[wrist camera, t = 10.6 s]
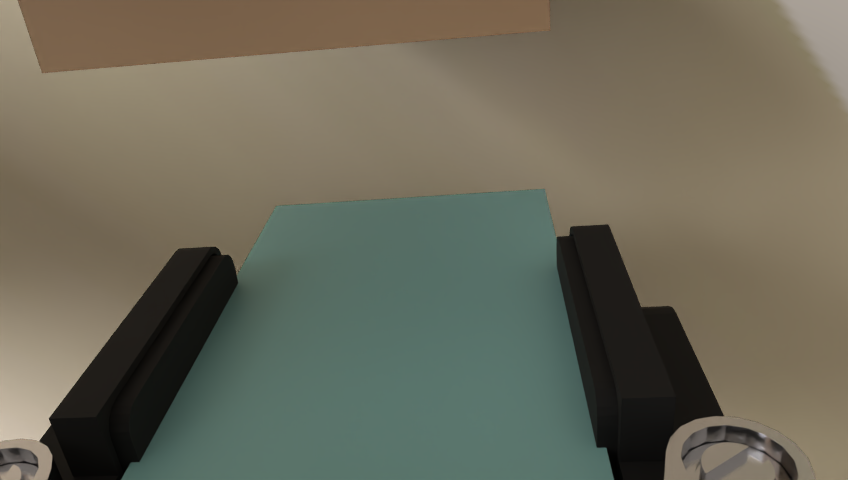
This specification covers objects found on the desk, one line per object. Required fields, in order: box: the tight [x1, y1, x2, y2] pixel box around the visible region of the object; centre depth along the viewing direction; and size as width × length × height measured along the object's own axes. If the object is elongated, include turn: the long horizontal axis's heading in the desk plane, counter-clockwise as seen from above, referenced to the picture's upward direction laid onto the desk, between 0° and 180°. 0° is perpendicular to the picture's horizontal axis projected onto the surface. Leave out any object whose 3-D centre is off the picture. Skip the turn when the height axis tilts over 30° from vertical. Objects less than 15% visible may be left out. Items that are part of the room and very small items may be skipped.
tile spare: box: [121, 189, 614, 480], centre depth 9 cm, size 2×5×10 cm, turn 95°
